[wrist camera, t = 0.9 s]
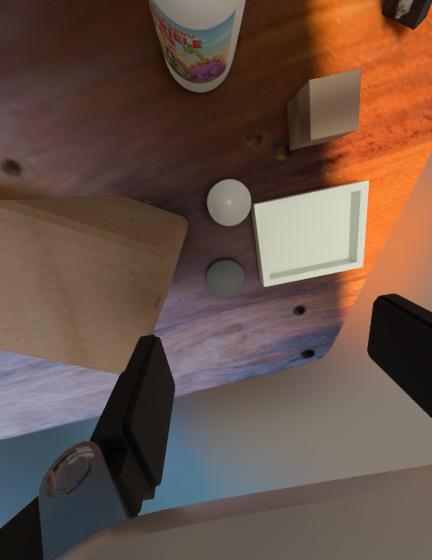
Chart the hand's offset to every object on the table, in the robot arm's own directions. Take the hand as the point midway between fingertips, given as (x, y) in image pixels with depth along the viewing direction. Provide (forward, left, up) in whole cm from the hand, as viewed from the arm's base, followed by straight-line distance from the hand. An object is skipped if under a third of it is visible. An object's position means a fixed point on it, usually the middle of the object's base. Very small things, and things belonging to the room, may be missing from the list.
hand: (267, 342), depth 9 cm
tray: (+2, +12, -24) cm, 27 cm away
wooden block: (-2, -11, -24) cm, 27 cm away
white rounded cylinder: (-5, +1, -24) cm, 25 cm away
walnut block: (-12, +13, -24) cm, 30 cm away
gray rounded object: (+6, -1, -24) cm, 25 cm away
